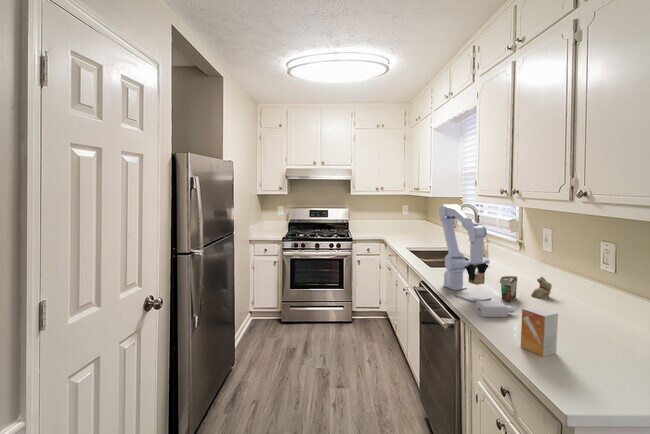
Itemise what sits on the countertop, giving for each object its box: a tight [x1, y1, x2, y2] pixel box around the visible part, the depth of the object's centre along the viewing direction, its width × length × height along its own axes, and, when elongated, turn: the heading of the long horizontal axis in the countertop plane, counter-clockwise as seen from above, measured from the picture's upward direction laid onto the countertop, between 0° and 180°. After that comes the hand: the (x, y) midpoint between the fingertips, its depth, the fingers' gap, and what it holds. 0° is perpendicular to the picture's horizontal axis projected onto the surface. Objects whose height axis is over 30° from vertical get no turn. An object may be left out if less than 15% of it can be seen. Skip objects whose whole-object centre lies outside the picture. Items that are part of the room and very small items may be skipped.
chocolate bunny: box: [530, 275, 553, 299], centre depth 178 cm, size 6×8×10 cm
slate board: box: [454, 291, 492, 303], centre depth 178 cm, size 12×11×1 cm
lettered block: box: [468, 270, 486, 286], centre depth 178 cm, size 5×5×5 cm
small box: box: [520, 305, 559, 358], centre depth 119 cm, size 8×6×13 cm
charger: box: [475, 300, 519, 318], centre depth 154 cm, size 5×9×15 cm
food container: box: [499, 275, 518, 303], centre depth 175 cm, size 12×6×10 cm, turn 141°
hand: (476, 279), depth 178 cm, fingers closed on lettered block, 5 cm apart
